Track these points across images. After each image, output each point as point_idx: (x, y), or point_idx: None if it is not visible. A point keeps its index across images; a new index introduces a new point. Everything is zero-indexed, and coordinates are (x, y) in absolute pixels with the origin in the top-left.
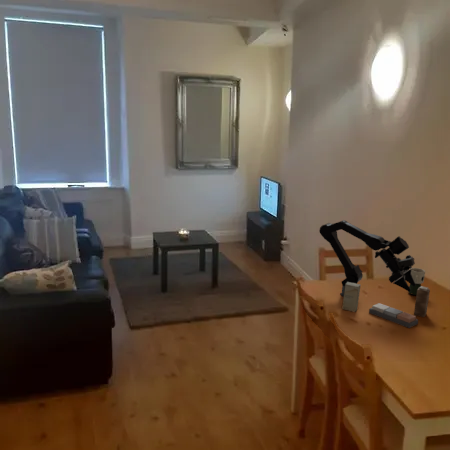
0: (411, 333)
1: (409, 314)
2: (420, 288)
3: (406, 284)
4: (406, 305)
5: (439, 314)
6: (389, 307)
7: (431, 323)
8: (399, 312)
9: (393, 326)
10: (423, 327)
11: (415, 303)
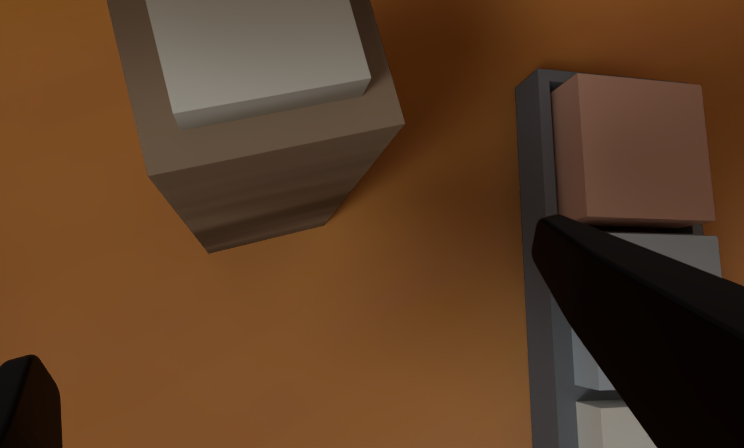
0: (720, 43)
1: (598, 141)
2: (360, 55)
3: (741, 290)
4: (98, 444)
5: (47, 36)
6: (613, 407)
7: (386, 6)
8: (645, 241)
9: (738, 204)
10: (535, 23)
11: (346, 194)
